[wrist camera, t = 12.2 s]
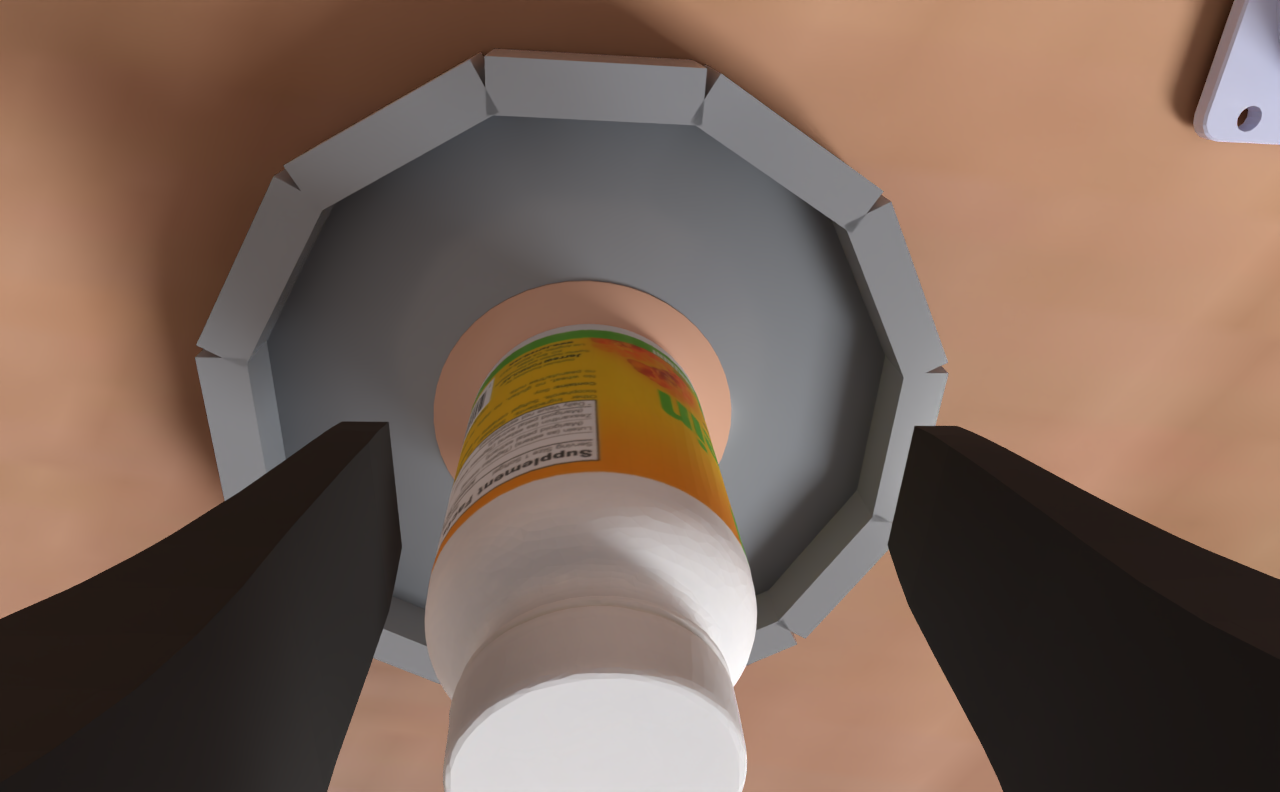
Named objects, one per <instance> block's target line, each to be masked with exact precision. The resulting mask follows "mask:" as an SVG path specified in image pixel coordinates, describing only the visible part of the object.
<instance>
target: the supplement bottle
mask: <svg viewBox="0 0 1280 792" xmlns="http://www.w3.org/2000/svg"><path fill="white" fill-rule="evenodd" d="M756 624H757V604H756V596H755V590H754V585H753V581H752V577H751V571H750V567H749V563H748V560H747V557H746V553H745V550H744V547H743V544H742V541H741V537H740V534H739V531H738V527H737V524H736V521H735V518H734V514H733V511H732V508H731V505H730V502H729V498H728V495H727V492H726V489H725V485H724V482H723V478H722V475H721V472H720V468H719V465H718V462H717V458H716V455H715V452H714V448H713V445H712V442H711V438H710V435H709V431H708V428H707V425H706V422H705V418H704V415H703V411H702V408H701V405H700V402H699V399H698V397H697V394H696V392H695V389H694V387H693V385H692V383H691V381H690V379H689V377H688V376H687V374H686V373H685V371H684V370H683V369H682V367H681V366H680V365H679V364H678V363H677V362H676V361H675V360H674V358H673V357H672V356H671V355H669V354H668V353H667V352H666V351H665V350H663V349H662V348H661V347H659V346H658V345H657V344H655V343H654V342H652V341H650V340H649V339H647V338H645V337H643V336H641V335H639V334H636V333H634V332H631V331H629V330H626V329H622V328H618V327H614V326H608V325H600V324H576V325H570V326H564V327H559V328H555V329H551V330H548V331H545V332H542V333H540V334H537V335H535V336H533V337H530V338H528V339H527V340H525V341H523V342H521V343H520V344H518V345H517V346H515V347H514V348H513V349H512V350H510V351H509V352H508V353H507V354H506V355H504V356H503V357H502V358H501V359H500V360H499V362H498V363H497V364H496V365H495V366H494V367H493V369H492V370H491V371H490V372H489V374H488V375H487V377H486V378H485V380H484V382H483V383H482V385H481V387H480V389H479V391H478V393H477V396H476V399H475V402H474V405H473V407H472V410H471V414H470V418H469V421H468V425H467V429H466V433H465V438H464V442H463V446H462V450H461V454H460V459H459V463H458V467H457V471H456V475H455V479H454V483H453V487H452V491H451V494H450V498H449V503H448V508H447V512H446V516H445V520H444V524H443V528H442V532H441V537H440V541H439V545H438V549H437V553H436V558H435V562H434V565H433V568H432V573H431V578H430V583H429V588H428V594H427V601H426V607H425V638H426V643H427V649H428V653H429V657H430V660H431V663H432V666H433V668H434V671H435V673H436V676H437V678H438V680H439V682H440V683H441V685H442V687H443V689H444V690H445V692H446V693H447V694H448V696H449V697H450V699H451V700H452V702H451V708H450V713H449V730H448V738H447V745H446V751H445V759H444V767H443V785H444V792H742V789H743V786H744V783H745V779H746V772H747V754H746V745H745V740H744V735H743V731H742V725H741V720H740V715H739V710H738V706H737V701H736V697H735V692H734V688H733V687H734V685H735V684H736V682H737V681H738V679H739V678H740V676H741V674H742V672H743V670H744V668H745V666H746V664H747V662H748V659H749V656H750V653H751V649H752V646H753V643H754V639H755V633H756Z"/></svg>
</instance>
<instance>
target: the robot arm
mask: <svg viewBox="0 0 1280 792" xmlns="http://www.w3.org/2000/svg"><path fill="white" fill-rule="evenodd" d="M1246 108H1247V109H1248V115H1247V118H1246V120H1245V121H1244V123H1243V124H1241V125H1240V126H1239V127H1238V126H1237V120H1238V117H1239V115H1240V114H1241V112H1242V111H1243V110H1245V109H1246ZM1193 125H1194V129H1195V132H1196V133H1197V134H1198V135H1199V136H1200V137H1202V138H1205V139H1209V140H1213V141H1218V142H1238V143H1258V144H1278V145H1280V0H1234V2H1233V5H1232V8H1231V11H1230V14H1229V17H1228V20H1227V22H1226V25H1225V28H1224V31H1223V34H1222V37H1221V40H1220V43H1219V45H1218V48H1217V51H1216V54H1215V57H1214V60H1213V63H1212V66H1211V68H1210V71H1209V74H1208V77H1207V80H1206V83H1205V86H1204V89H1203V92H1202V94H1201V97H1200V100H1199V103H1198V106H1197V109H1196V112H1195V115H1194V121H1193ZM887 545H888V548H889V551H890V554H891V557H892V560H893V563H894V566H895V569H896V572H897V575H898V578H899V581H900V584H901V586H902V589H903V592H904V594H905V597H906V600H907V602H908V605H909V607H910V609H911V611H912V613H913V615H914V617H915V619H916V621H917V623H918V625H919V627H920V629H921V631H922V633H923V635H924V636H925V638H926V640H927V642H928V644H929V646H930V648H931V650H932V652H933V654H934V656H935V658H936V659H937V661H938V663H939V665H940V667H941V669H942V671H943V673H944V674H945V676H946V678H947V680H948V682H949V684H950V686H951V688H952V689H953V691H954V693H955V695H956V697H957V699H958V701H959V703H960V704H961V706H962V708H963V710H964V712H965V714H966V716H967V718H968V719H969V721H970V723H971V725H972V727H973V729H974V731H975V733H976V735H977V736H978V738H979V740H980V742H981V744H982V746H983V748H984V750H985V752H986V754H987V756H988V758H989V761H990V763H991V765H992V767H993V769H994V771H995V773H996V775H997V777H998V780H999V782H1000V785H1001V787H1002V790H1003V792H1280V579H1277V578H1274V577H1272V576H1269V575H1267V574H1264V573H1262V572H1259V571H1257V570H1255V569H1252V568H1250V567H1247V566H1245V565H1242V564H1240V563H1237V562H1235V561H1233V560H1230V559H1228V558H1225V557H1223V556H1220V555H1218V554H1215V553H1213V552H1211V551H1208V550H1206V549H1204V548H1201V547H1199V546H1197V545H1195V544H1192V543H1190V542H1188V541H1186V540H1183V539H1181V538H1179V537H1177V536H1175V535H1172V534H1170V533H1168V532H1166V531H1164V530H1162V529H1160V528H1158V527H1156V526H1154V525H1152V524H1150V523H1148V522H1145V521H1143V520H1141V519H1139V518H1137V517H1135V516H1133V515H1131V514H1129V513H1127V512H1125V511H1123V510H1121V509H1119V508H1117V507H1115V506H1113V505H1111V504H1109V503H1107V502H1105V501H1103V500H1101V499H1099V498H1097V497H1096V496H1094V495H1092V494H1090V493H1088V492H1086V491H1084V490H1082V489H1080V488H1078V487H1077V486H1075V485H1073V484H1071V483H1069V482H1067V481H1065V480H1063V479H1062V478H1060V477H1058V476H1056V475H1054V474H1052V473H1050V472H1049V471H1047V470H1045V469H1043V468H1041V467H1039V466H1037V465H1036V464H1034V463H1032V462H1030V461H1028V460H1026V459H1024V458H1023V457H1021V456H1019V455H1017V454H1015V453H1013V452H1011V451H1009V450H1008V449H1006V448H1004V447H1002V446H1000V445H998V444H996V443H994V442H992V441H990V440H988V439H986V438H984V437H982V436H980V435H977V434H975V433H973V432H971V431H968V430H966V429H963V428H961V427H958V426H914V430H913V435H912V439H911V444H910V448H909V452H908V457H907V461H906V466H905V470H904V474H903V479H902V483H901V487H900V492H899V496H898V501H897V505H896V509H895V514H894V518H893V523H892V527H891V531H890V536H889V540H888V544H887ZM401 550H402V541H401V532H400V522H399V513H398V504H397V494H396V485H395V476H394V466H393V457H392V447H391V438H390V429H389V422H355V421H342V422H340V423H338V424H337V425H335V426H333V427H332V428H330V429H328V430H327V431H325V432H324V433H322V434H321V435H320V436H318V437H317V438H315V439H314V440H312V441H311V442H310V443H308V444H307V445H305V446H304V447H303V448H301V449H300V450H298V451H297V452H296V453H294V454H293V455H291V456H290V457H289V458H287V459H286V460H284V461H283V462H282V463H280V464H279V465H277V466H276V467H274V468H273V469H271V470H270V471H269V472H267V473H266V474H264V475H263V476H261V477H260V478H259V479H257V480H256V481H254V482H253V483H251V484H250V485H249V486H247V487H246V488H244V489H243V490H241V491H240V492H238V493H237V494H235V495H234V496H232V497H231V498H229V499H227V500H226V501H224V502H223V503H221V504H219V505H218V506H216V507H215V508H213V509H211V510H210V511H208V512H207V513H205V514H204V515H202V516H200V517H199V518H197V519H196V520H194V521H192V522H191V523H189V524H188V525H186V526H185V527H183V528H181V529H180V530H178V531H177V532H175V533H173V534H172V535H170V536H168V537H167V538H165V539H163V540H161V541H160V542H158V543H156V544H154V545H153V546H151V547H149V548H147V549H145V550H144V551H142V552H140V553H138V554H136V555H135V556H133V557H131V558H129V559H127V560H125V561H123V562H121V563H119V564H117V565H115V566H113V567H111V568H110V569H108V570H106V571H104V572H102V573H100V574H98V575H96V576H94V577H92V578H90V579H88V580H86V581H84V582H82V583H80V584H78V585H76V586H74V587H72V588H70V589H67V590H65V591H63V592H61V593H58V594H56V595H54V596H52V597H49V598H47V599H45V600H42V601H40V602H38V603H36V604H33V605H31V606H29V607H27V608H24V609H22V610H20V611H17V612H15V613H13V614H11V615H8V616H6V617H4V618H2V619H0V792H327V790H328V787H329V783H330V780H331V777H332V774H333V770H334V767H335V764H336V761H337V758H338V755H339V752H340V749H341V747H342V744H343V741H344V738H345V735H346V733H347V730H348V727H349V724H350V721H351V718H352V716H353V713H354V710H355V707H356V704H357V702H358V699H359V696H360V693H361V690H362V688H363V685H364V682H365V679H366V676H367V674H368V671H369V668H370V665H371V662H372V659H373V657H374V654H375V651H376V648H377V645H378V642H379V639H380V636H381V634H382V631H383V628H384V625H385V622H386V619H387V616H388V613H389V609H390V605H391V600H392V595H393V591H394V586H395V581H396V576H397V571H398V566H399V561H400V555H401Z"/></svg>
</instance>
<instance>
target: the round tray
mask: <svg viewBox="0 0 1280 792" xmlns="http://www.w3.org/2000/svg"><path fill="white" fill-rule="evenodd" d="M283 166H284V168H285V169H284V170H282V171H281V172H279V173H278V174H276V175H274V176H273V179H272V181H271V183H270V185H269V187H268V189H267V192H266V194H265V196H264V198H263V200H262V203H261V205H260V207H259V209H258V211H257V213H256V216H255V218H254V220H253V222H252V224H251V227H250V229H249V231H248V233H247V235H246V238H245V240H244V242H243V244H242V246H241V248H240V251H239V253H238V255H237V257H236V259H235V262H234V264H233V266H232V268H231V270H230V272H229V275H228V277H227V279H226V281H225V283H224V286H223V288H222V290H221V292H220V294H219V296H218V299H217V301H216V303H215V305H214V307H213V310H212V312H211V314H210V316H209V318H208V321H207V323H206V325H205V327H204V329H203V331H202V334H201V336H200V338H199V340H198V342H197V346H199V347H201V348H203V350H202V351H201V352H200V353H199V354H198V355H197V356H196V357H195V360H196V365H197V370H198V375H199V379H200V384H201V389H202V394H203V399H204V404H205V408H206V413H207V418H208V423H209V428H210V433H211V437H212V442H213V447H214V452H215V457H216V462H217V466H218V471H219V476H220V481H221V486H222V491H223V495H224V500H225V501H226V500H227V499H229V498H231V497H232V496H234V495H235V494H237V493H238V492H240V491H241V490H243V489H244V488H246V487H247V486H249V485H250V484H251V483H253V482H254V481H256V480H257V479H259V478H260V477H261V476H263V475H264V474H266V473H267V472H269V471H270V470H271V469H273V468H274V467H276V466H277V465H279V464H280V463H282V462H283V461H284V460H286V459H287V458H289V457H290V456H291V455H293V454H294V453H296V452H297V451H298V450H300V449H301V448H303V447H304V446H305V445H307V444H308V443H310V442H311V441H312V440H314V439H315V438H317V437H318V436H320V435H321V434H322V433H324V432H325V431H327V430H328V429H330V428H332V427H333V426H335V425H337V424H338V423H340V422H342V421H355V422H389V429H390V438H391V447H392V457H393V466H394V476H395V485H396V494H397V504H398V513H399V522H400V532H401V541H402V550H401V555H400V561H399V566H398V571H397V576H396V581H395V586H394V591H393V595H392V600H391V605H390V609H389V613H388V616H387V619H386V622H385V625H384V628H383V631H382V634H381V636H380V639H379V642H378V645H377V648H376V651H375V654H374V657H373V658H374V659H377V660H380V661H382V662H385V663H387V664H390V665H392V666H395V667H398V668H400V669H403V670H405V671H408V672H410V673H413V674H415V675H418V676H421V677H423V678H426V679H428V680H431V681H433V682H436V683H439V684H441V683H440V682H439V680H438V678H437V676H436V673H435V671H434V668H433V666H432V663H431V660H430V657H429V653H428V649H427V643H426V638H425V607H426V601H427V594H428V588H429V583H430V578H431V573H432V568H433V565H434V562H435V558H436V553H437V549H438V545H439V541H440V537H441V532H442V528H443V524H444V520H445V516H446V512H447V508H448V503H449V498H450V494H451V491H452V487H453V483H454V479H455V475H456V471H457V467H458V463H459V459H460V454H461V450H462V446H463V442H464V438H465V433H466V429H467V425H468V421H469V418H470V414H471V410H472V407H473V405H474V402H475V399H476V396H477V393H478V391H479V389H480V387H481V385H482V383H483V382H484V380H485V378H486V377H487V375H488V374H489V372H490V371H491V370H492V369H493V367H494V366H495V365H496V364H497V363H498V362H499V360H500V359H501V358H502V357H503V356H504V355H506V354H507V353H508V352H509V351H510V350H512V349H513V348H514V347H515V346H517V345H518V344H520V343H521V342H523V341H525V340H527V339H528V338H530V337H533V336H535V335H537V334H540V333H542V332H545V331H548V330H551V329H555V328H559V327H564V326H570V325H576V324H600V325H608V326H614V327H618V328H622V329H626V330H629V331H631V332H634V333H636V334H639V335H641V336H643V337H645V338H647V339H649V340H650V341H652V342H654V343H655V344H657V345H658V346H659V347H661V348H662V349H663V350H665V351H666V352H667V353H668V354H669V355H671V356H672V357H673V358H674V360H675V361H676V362H677V363H678V364H679V365H680V366H681V367H682V369H683V370H684V371H685V373H686V374H687V376H688V377H689V379H690V381H691V383H692V385H693V387H694V389H695V392H696V394H697V397H698V399H699V402H700V405H701V408H702V411H703V415H704V418H705V422H706V425H707V428H708V431H709V435H710V438H711V442H712V445H713V448H714V452H715V455H716V458H717V462H718V465H719V468H720V472H721V475H722V478H723V482H724V485H725V489H726V492H727V495H728V498H729V502H730V505H731V508H732V511H733V514H734V518H735V521H736V524H737V527H738V531H739V534H740V537H741V541H742V544H743V547H744V550H745V553H746V557H747V560H748V563H749V567H750V571H751V577H752V581H753V585H754V590H755V596H756V604H757V624H756V633H755V639H754V643H753V646H752V649H751V653H750V656H749V659H748V662H747V664H746V666H747V665H749V664H751V663H754V662H756V661H758V660H761V659H763V658H766V657H768V656H770V655H773V654H775V653H777V652H780V651H782V650H785V649H787V648H789V647H792V646H794V645H796V644H797V642H796V639H795V637H794V634H793V633H795V634H797V635H799V636H801V637H803V638H805V639H806V637H807V636H808V635H809V634H810V633H811V632H812V631H813V630H814V629H815V628H816V627H817V626H818V625H819V624H820V622H821V621H822V620H823V619H824V618H825V617H826V616H827V615H828V614H829V613H830V612H831V611H832V610H833V609H834V607H835V606H836V605H837V604H838V603H839V602H840V601H841V600H842V599H843V598H844V597H845V596H846V595H847V594H848V592H849V591H850V590H851V589H852V588H853V587H854V586H855V585H856V584H857V583H858V582H859V581H860V580H861V578H862V577H863V576H864V575H865V574H866V573H867V572H868V571H869V570H870V569H871V568H872V567H873V566H874V565H875V563H876V562H877V561H878V560H879V559H880V558H881V557H882V556H883V555H884V554H885V553H886V552H887V551H888V550H889V548H888V545H887V544H888V540H889V536H890V531H891V527H892V523H893V518H894V514H895V509H896V505H897V501H898V496H899V492H900V487H901V483H902V479H903V474H904V470H905V466H906V461H907V457H908V452H909V448H910V444H911V439H912V435H913V430H914V426H935V425H936V421H937V417H938V413H939V409H940V405H941V401H942V397H943V393H944V389H945V385H946V381H947V377H948V373H947V372H946V371H945V369H944V368H943V367H942V365H944V364H946V363H948V361H947V358H946V355H945V352H944V349H943V347H942V344H941V341H940V338H939V335H938V333H937V330H936V327H935V324H934V321H933V318H932V316H931V313H930V310H929V307H928V304H927V301H926V299H925V296H924V293H923V290H922V287H921V284H920V282H919V279H918V276H917V273H916V270H915V267H914V265H913V262H912V259H911V256H910V253H909V251H908V248H907V245H906V242H905V239H904V236H903V234H902V231H901V228H900V225H899V222H898V219H897V217H896V214H895V211H894V208H893V205H892V202H891V201H889V200H888V199H886V198H885V197H884V196H882V195H881V194H882V193H883V192H884V191H882V190H881V189H880V188H878V187H877V186H876V185H874V184H873V183H871V182H870V181H869V180H867V179H866V178H864V177H863V176H862V175H860V174H859V173H858V172H856V171H855V170H853V169H852V168H851V167H849V166H848V165H847V164H845V163H844V162H842V161H841V160H840V159H838V158H837V157H836V156H834V155H833V154H831V153H830V152H829V151H827V150H826V149H825V148H823V147H822V146H820V145H819V144H818V143H816V142H815V141H814V140H812V139H811V138H809V137H808V136H807V135H805V134H804V133H803V132H801V131H800V130H798V129H797V128H796V127H794V126H793V125H791V124H790V123H789V122H787V121H786V120H785V119H783V118H782V117H780V116H779V115H778V114H776V113H775V112H774V111H772V110H771V109H769V108H768V107H767V106H765V105H764V104H763V103H761V102H760V101H758V100H757V99H756V98H754V97H753V96H752V95H750V94H749V93H747V92H746V91H745V90H743V89H742V88H741V87H739V86H738V85H736V84H735V83H734V82H732V81H731V80H730V79H728V78H727V77H725V76H724V75H723V74H721V73H720V72H718V71H716V70H714V69H713V68H711V67H709V66H707V65H706V64H705V65H704V66H702V65H701V64H699V63H697V62H696V61H694V60H688V59H670V58H653V57H635V56H617V55H600V54H582V53H565V52H547V51H530V50H512V49H493V50H492V51H490V52H489V53H488V54H486V55H485V58H484V56H483V55H482V53H481V52H479V53H478V54H476V55H474V56H472V57H471V58H469V59H467V60H465V61H464V62H462V63H460V64H458V65H457V66H455V67H453V68H451V69H450V70H448V71H446V72H444V73H443V74H441V75H439V76H437V77H436V78H434V79H432V80H430V81H429V82H427V83H425V84H423V85H422V86H420V87H418V88H416V89H415V90H413V91H411V92H409V93H407V94H406V95H404V96H402V97H400V98H399V99H397V100H395V101H393V102H392V103H390V104H388V105H386V106H385V107H383V108H381V109H379V110H378V111H376V112H374V113H372V114H371V115H369V116H367V117H365V118H364V119H362V120H360V121H358V122H357V123H355V124H353V125H351V126H350V127H348V128H346V129H344V130H343V131H341V132H339V133H337V134H336V135H334V136H332V137H330V138H329V139H327V140H325V141H323V142H322V143H320V144H318V145H316V146H315V147H313V148H311V149H310V150H308V151H306V152H305V153H303V154H301V155H300V156H298V157H297V158H295V159H293V160H292V161H290V162H288V163H287V164H285V165H283Z"/></svg>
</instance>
